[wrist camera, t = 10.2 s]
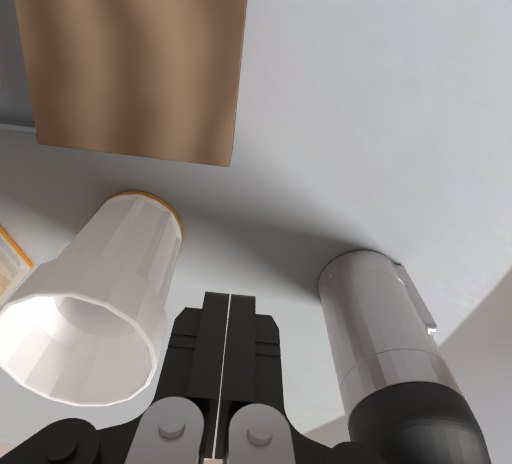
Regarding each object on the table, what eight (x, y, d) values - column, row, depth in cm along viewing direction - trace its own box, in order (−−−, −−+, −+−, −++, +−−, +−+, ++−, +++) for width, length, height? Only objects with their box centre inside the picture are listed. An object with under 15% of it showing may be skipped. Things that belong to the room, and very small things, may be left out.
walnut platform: (252, -56, 29) (251, -65, 25) (232, 150, 37) (229, 167, 33) (33, -90, 28) (-3, -105, 24) (61, 129, 36) (38, 144, 32)
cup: (68, 191, 39) (-49, 306, 24) (175, 171, 38) (121, 279, 23) (110, 278, 45) (36, 415, 30) (204, 263, 44) (177, 398, 29)
